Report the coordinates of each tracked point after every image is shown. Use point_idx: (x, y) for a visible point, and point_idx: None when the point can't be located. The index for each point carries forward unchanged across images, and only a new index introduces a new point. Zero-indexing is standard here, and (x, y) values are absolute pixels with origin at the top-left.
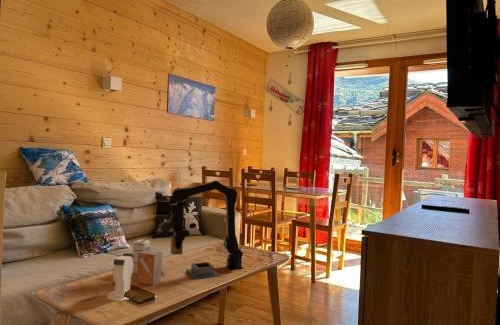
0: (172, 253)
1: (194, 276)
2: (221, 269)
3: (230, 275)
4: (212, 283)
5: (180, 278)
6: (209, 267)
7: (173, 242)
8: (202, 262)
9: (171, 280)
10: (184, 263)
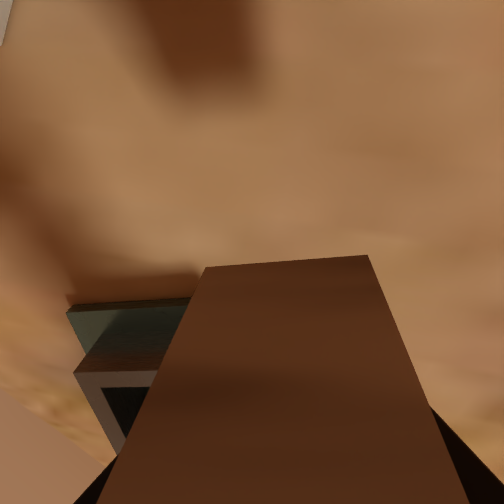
0: (236, 271)
1: (87, 319)
2: None
3: None
4: (12, 372)
5: (86, 225)
6: (109, 440)
7: (107, 487)
8: None
9: (33, 149)
10: (483, 318)
